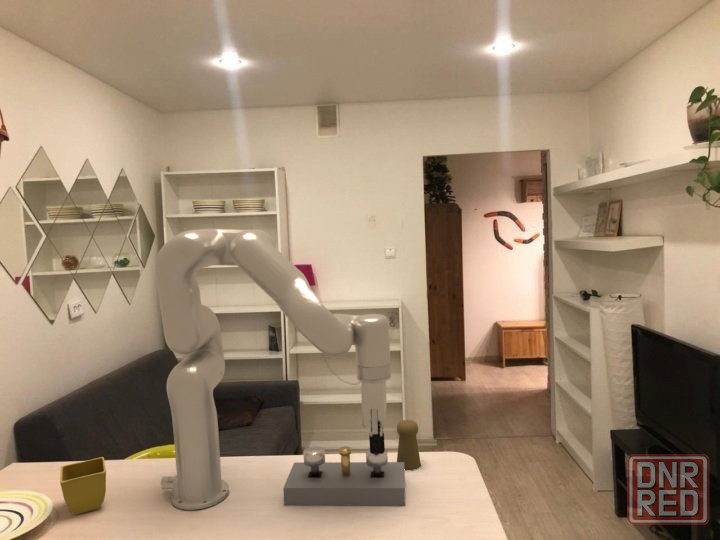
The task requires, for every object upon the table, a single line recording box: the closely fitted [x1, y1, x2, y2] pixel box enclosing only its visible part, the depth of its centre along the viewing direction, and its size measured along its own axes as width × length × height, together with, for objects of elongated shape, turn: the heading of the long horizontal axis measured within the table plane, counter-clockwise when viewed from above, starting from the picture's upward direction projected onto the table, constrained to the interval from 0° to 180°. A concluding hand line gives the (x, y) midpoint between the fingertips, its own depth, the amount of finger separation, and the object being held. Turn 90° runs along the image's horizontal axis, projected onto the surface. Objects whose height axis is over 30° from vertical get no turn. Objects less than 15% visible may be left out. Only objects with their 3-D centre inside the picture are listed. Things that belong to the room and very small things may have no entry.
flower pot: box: [59, 456, 107, 516], centre depth 120 cm, size 9×9×9 cm
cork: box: [396, 419, 422, 471], centre depth 134 cm, size 6×6×11 cm
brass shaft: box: [338, 445, 352, 477], centre depth 122 cm, size 3×3×6 cm
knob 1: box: [303, 446, 326, 478], centre depth 123 cm, size 5×5×6 cm
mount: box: [283, 461, 406, 507], centre depth 123 cm, size 26×12×4 cm, turn 86°
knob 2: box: [365, 447, 389, 478], centre depth 122 cm, size 5×5×6 cm
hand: (377, 451), depth 121 cm, fingers closed
